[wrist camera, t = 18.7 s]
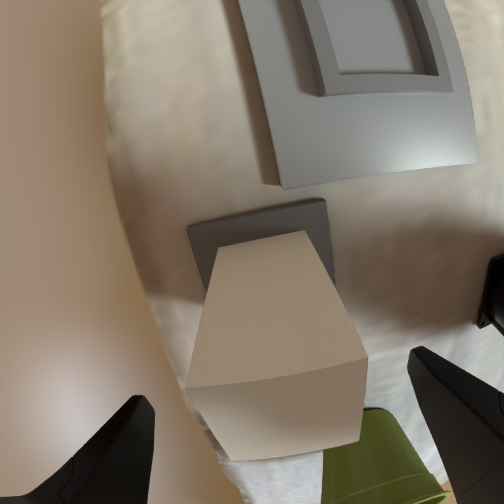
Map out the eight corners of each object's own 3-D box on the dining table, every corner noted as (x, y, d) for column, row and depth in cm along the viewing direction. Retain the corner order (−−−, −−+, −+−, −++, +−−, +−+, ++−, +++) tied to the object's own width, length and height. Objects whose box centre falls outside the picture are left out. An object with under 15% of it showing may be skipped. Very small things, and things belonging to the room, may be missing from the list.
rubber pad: (334, 310, 17) (337, 316, 16) (222, 331, 17) (222, 338, 17) (322, 198, 14) (325, 201, 14) (188, 225, 15) (186, 229, 14)
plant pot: (405, 370, 20) (457, 482, 9) (416, 424, 24) (447, 502, 13) (276, 424, 22) (285, 540, 11) (320, 463, 26) (333, 544, 16)
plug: (314, 302, 16) (358, 440, 8) (238, 317, 16) (231, 461, 8) (304, 230, 14) (368, 357, 6) (218, 247, 15) (185, 387, 6)
